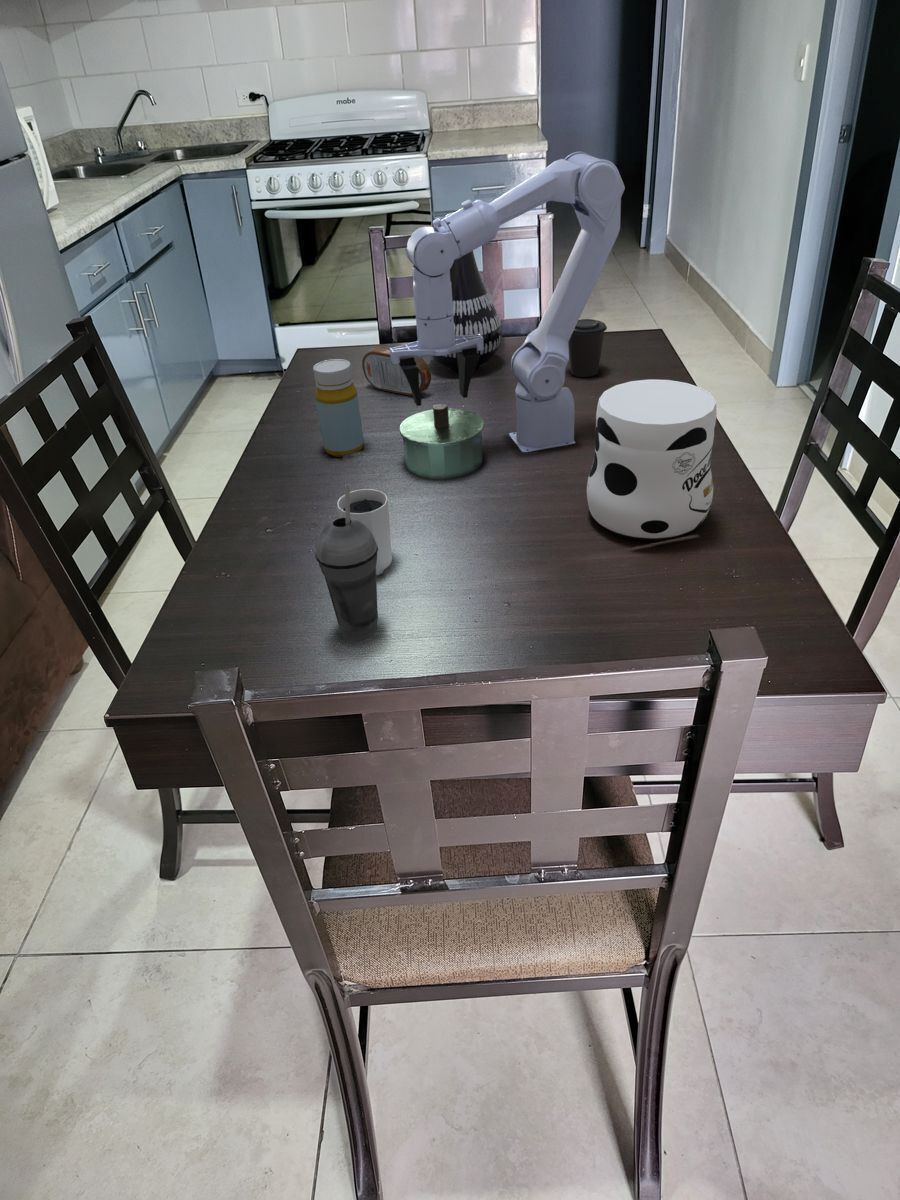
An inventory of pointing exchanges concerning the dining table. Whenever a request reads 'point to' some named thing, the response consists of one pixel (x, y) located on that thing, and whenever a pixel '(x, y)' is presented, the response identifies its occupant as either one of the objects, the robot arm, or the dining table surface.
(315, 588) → the dining table surface
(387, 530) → the white cylindrical cup
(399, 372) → the tin
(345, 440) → the bottle
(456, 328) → the vase
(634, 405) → the milk container
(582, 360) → the coffee cup
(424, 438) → the lid
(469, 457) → the jar
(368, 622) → the beverage cup
